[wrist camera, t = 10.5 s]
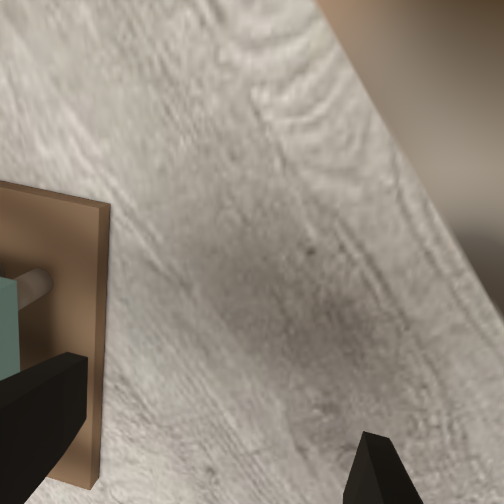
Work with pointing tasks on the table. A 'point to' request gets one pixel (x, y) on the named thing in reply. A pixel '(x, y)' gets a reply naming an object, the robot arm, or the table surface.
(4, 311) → the teal rectangular block
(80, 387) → the robot arm
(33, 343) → the peg rack
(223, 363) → the table surface
